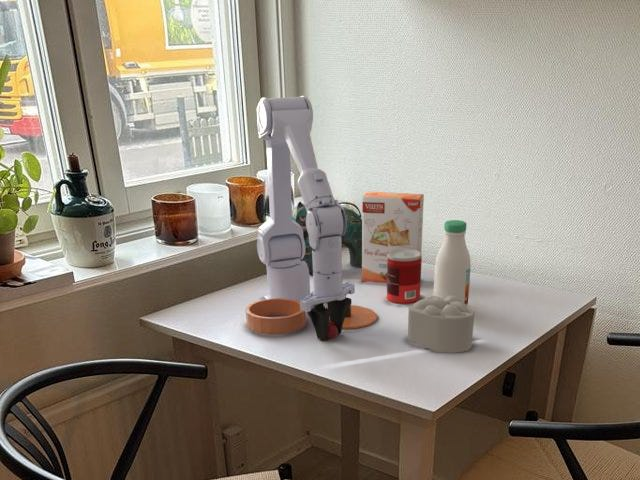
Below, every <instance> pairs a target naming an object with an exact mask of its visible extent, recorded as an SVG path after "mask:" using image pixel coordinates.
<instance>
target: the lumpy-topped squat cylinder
mask: <svg viewBox="0 0 640 480" xmlns="http://www.w3.org/2000/svg"><path fill="white" fill-rule="evenodd" d="M407 318H408V319H407V321H408V322H407V340H408V341H409V342H411V343H413V344H416V345H419V346H422V347H424V348H423V350H427V351H430V352H435V353H447V354H448V353H450V354H453V353H457V354H458V353H463V352H468V351H470V350H471V349H472V346H473V344H472V343H473V333H474V322H475V321H474V320H475V311H474V310H473V308H472V307H471V306H469V304H468V305H466V304H465V303H462V302H461V300H460V299H459V298H458V297H456V296H448V297H447V298H446V299H444V298H439V297H438V296H435V295H432V294H431V295H428V296H427V297H425V298H422V299H419V300H418V301H417V302H414V303H411V304H409V306H408V317H407Z"/></svg>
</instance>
